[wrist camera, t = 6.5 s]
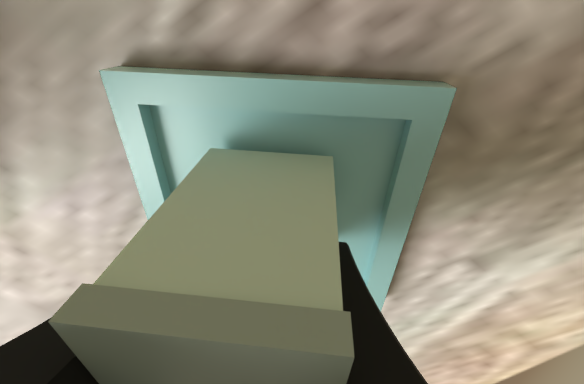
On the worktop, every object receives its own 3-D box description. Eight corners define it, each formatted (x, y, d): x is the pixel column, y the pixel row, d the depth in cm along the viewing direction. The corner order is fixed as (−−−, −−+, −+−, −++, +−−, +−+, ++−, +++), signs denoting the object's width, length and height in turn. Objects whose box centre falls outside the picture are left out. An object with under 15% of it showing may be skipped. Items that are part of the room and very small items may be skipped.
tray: (179, 277, 15) (171, 292, 14) (119, 66, 9) (99, 70, 9) (376, 297, 15) (379, 315, 14) (443, 81, 9) (457, 88, 8)
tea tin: (222, 239, 12) (135, 428, 7) (207, 145, 10) (47, 321, 4) (323, 249, 12) (324, 455, 6) (335, 154, 9) (354, 357, 4)
